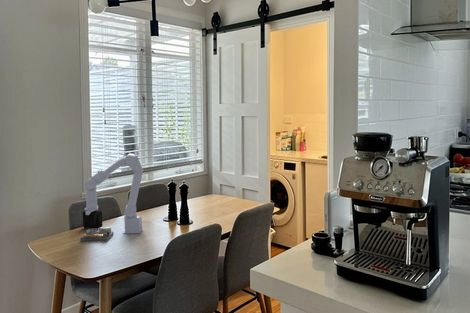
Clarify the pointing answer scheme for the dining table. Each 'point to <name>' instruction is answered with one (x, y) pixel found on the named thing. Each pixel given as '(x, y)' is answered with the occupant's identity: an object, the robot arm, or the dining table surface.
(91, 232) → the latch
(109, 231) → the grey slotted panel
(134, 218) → the robot arm
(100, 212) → the electronic device
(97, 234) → the strap
